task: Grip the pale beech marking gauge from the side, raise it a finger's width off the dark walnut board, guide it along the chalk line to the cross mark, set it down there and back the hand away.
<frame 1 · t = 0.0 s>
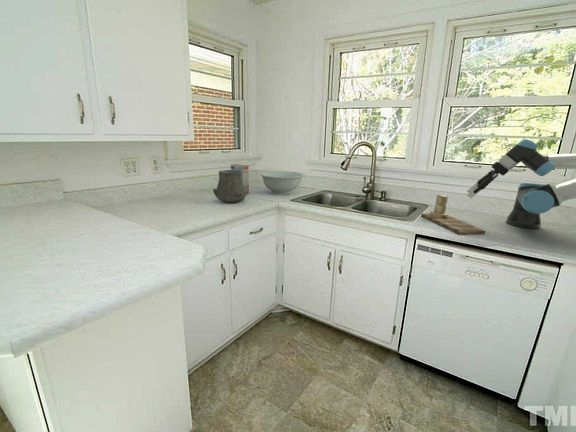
hand: (468, 194, 161), 15 cm above the countertop, fingers open, 13 cm apart
walnut board: (449, 224, 159), on the countertop
vessel: (231, 201, 193), on the countertop
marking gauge: (438, 216, 168), point 2 cm above the countertop, touching walnut board
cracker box: (240, 193, 219), on the countertop
bowl: (281, 192, 224), on the countertop
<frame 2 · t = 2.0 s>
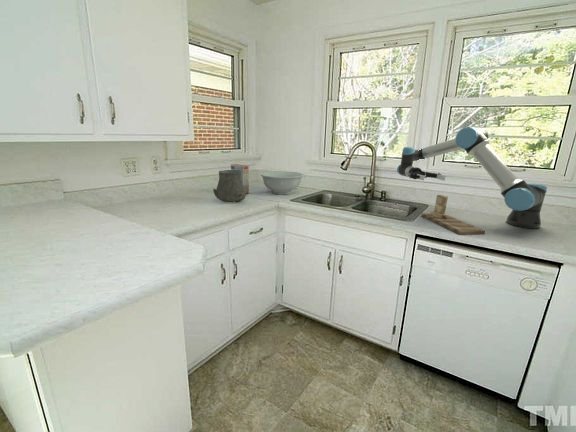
hand: (434, 178, 171), 22 cm above the countertop, fingers open, 13 cm apart
nothing on the countertop moved.
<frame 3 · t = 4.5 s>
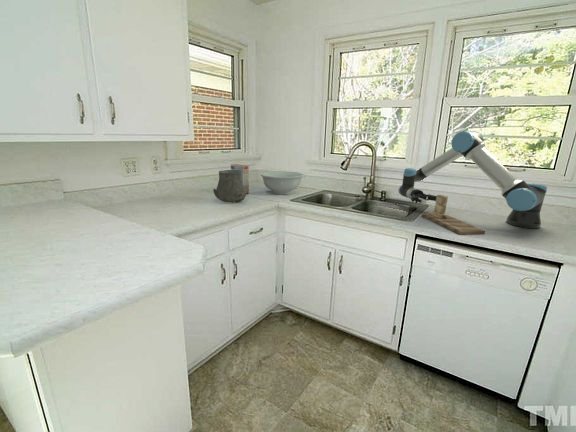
hand: (436, 202, 169), 9 cm above the countertop, fingers open, 13 cm apart
nothing on the countertop moved.
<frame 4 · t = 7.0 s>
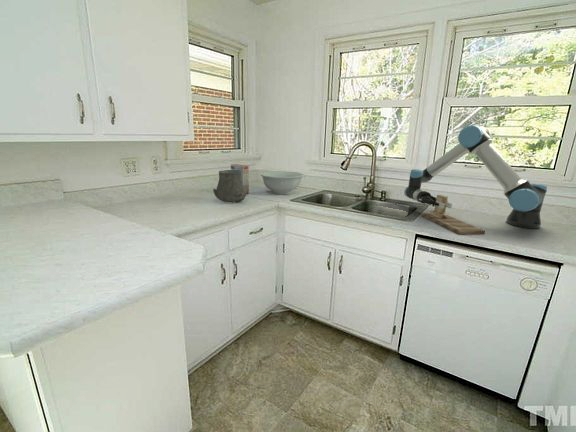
hand: (447, 206, 160), 9 cm above the countertop, fingers closed on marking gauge, 4 cm apart
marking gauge: (438, 216, 168), point 2 cm above the countertop, touching gripper, walnut board
everything else where it was.
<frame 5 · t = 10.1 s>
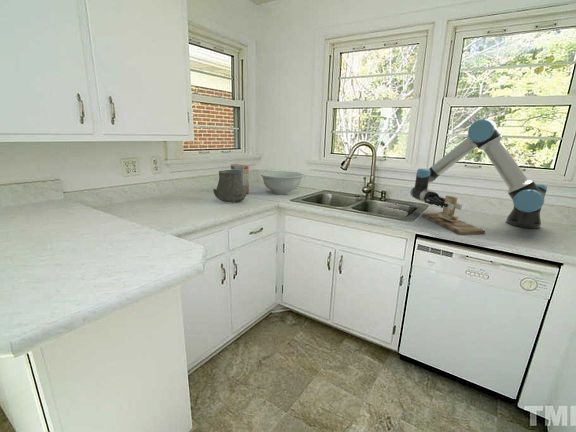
hand: (456, 207, 152), 10 cm above the countertop, fingers closed on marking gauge, 4 cm apart
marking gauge: (447, 217, 159), point 3 cm above the countertop, touching gripper
everything else where it was.
when the fingers open (9 cm above the countertop, at t = 13.3 s): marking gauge stays where it is, resting on walnut board.
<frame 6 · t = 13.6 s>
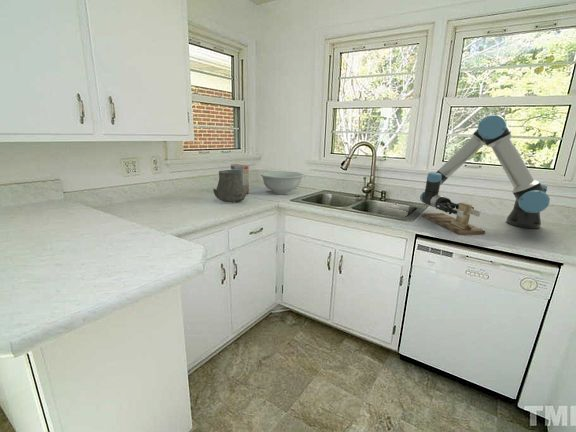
hand: (470, 214, 144), 9 cm above the countertop, fingers open, 9 cm apart
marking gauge: (461, 226, 151), point 2 cm above the countertop, touching walnut board
everything else where it was.
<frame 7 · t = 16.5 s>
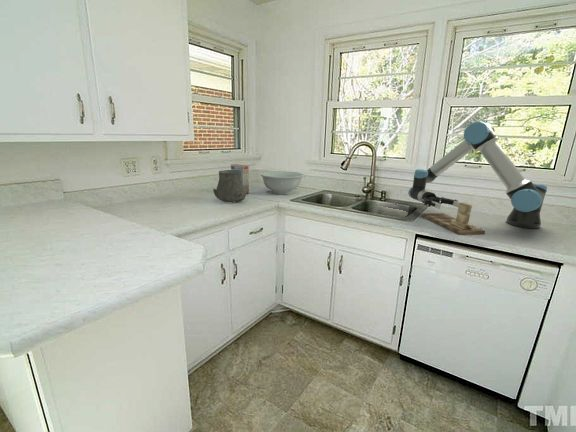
hand: (451, 206, 158), 10 cm above the countertop, fingers open, 13 cm apart
nothing on the countertop moved.
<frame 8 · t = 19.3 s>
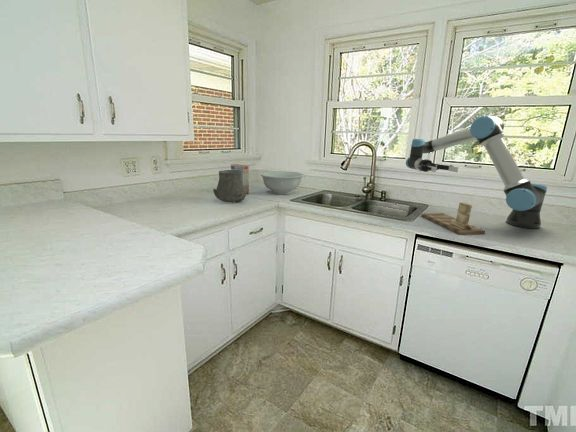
hand: (446, 169, 163), 28 cm above the countertop, fingers open, 13 cm apart
nothing on the countertop moved.
at the end: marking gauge 0.0 cm from the target spot on the walnut board, point 1.6 cm above the walnut board's base; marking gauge tilted 0°; the gripper is holding nothing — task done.
